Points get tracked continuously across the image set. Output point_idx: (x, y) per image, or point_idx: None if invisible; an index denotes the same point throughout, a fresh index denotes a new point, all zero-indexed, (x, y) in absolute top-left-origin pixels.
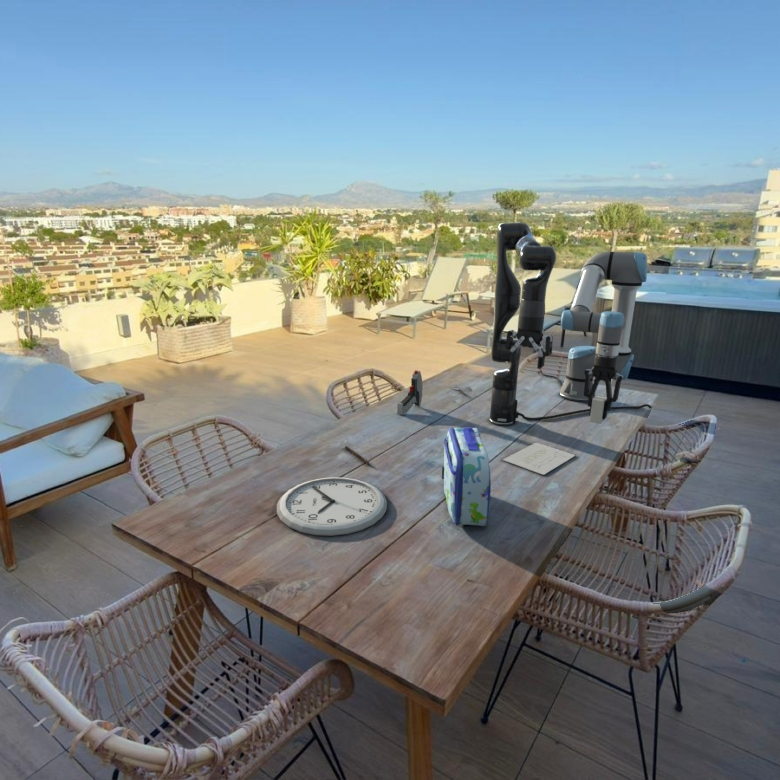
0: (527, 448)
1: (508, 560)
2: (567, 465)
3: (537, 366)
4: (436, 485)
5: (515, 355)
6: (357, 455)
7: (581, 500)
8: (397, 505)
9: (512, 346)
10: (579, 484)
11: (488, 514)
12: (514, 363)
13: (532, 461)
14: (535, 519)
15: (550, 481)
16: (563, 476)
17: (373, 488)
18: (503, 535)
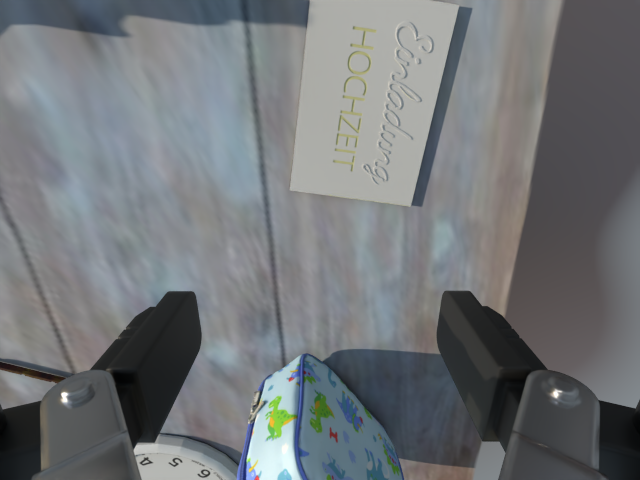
0: (311, 61)
1: (442, 464)
2: (449, 99)
3: (443, 356)
4: (245, 371)
5: (164, 378)
6: (41, 378)
7: (511, 263)
8: (241, 448)
9: (16, 461)
10: (497, 193)
11: (401, 469)
12: (198, 324)
13: (360, 148)
14: (446, 369)
15: (432, 222)
16: (454, 176)
17: (183, 455)
18: (416, 428)
